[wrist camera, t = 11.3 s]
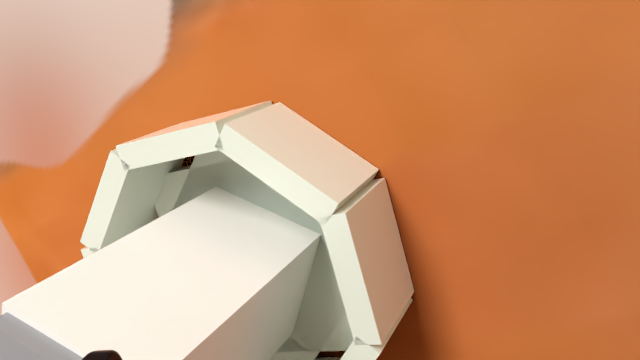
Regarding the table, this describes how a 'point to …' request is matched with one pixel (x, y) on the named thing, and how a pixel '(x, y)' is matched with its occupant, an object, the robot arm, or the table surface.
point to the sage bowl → (282, 199)
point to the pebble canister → (172, 290)
